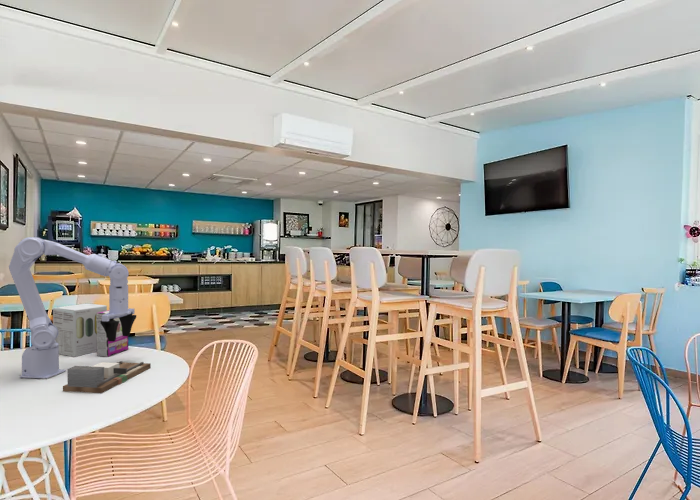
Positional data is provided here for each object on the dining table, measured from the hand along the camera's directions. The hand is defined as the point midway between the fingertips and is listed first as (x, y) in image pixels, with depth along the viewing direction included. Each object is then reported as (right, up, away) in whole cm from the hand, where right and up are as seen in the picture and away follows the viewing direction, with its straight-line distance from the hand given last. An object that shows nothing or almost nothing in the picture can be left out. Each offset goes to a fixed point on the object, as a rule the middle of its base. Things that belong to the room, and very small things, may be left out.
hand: (119, 338), depth 146 cm
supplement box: (-25, -9, +19) cm, 33 cm away
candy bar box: (-11, -9, +17) cm, 22 cm away
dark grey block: (+3, -8, -24) cm, 26 cm away
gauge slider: (+6, -8, -17) cm, 20 cm away
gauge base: (+5, -10, -13) cm, 17 cm away
